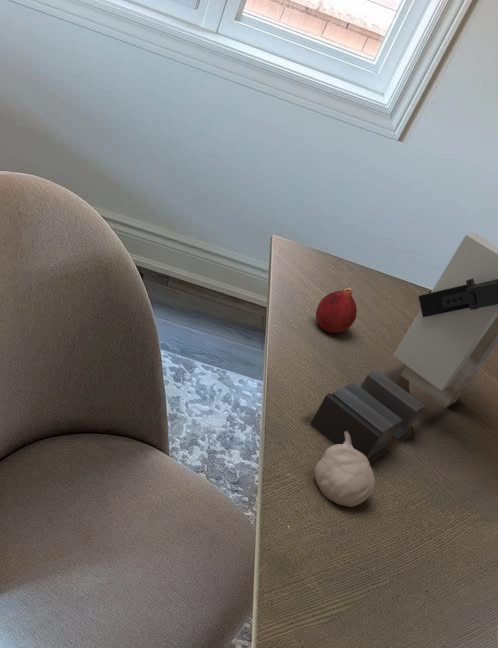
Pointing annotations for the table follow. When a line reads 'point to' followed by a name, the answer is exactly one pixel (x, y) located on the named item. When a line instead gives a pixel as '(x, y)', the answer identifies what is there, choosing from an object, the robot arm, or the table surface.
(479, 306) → the robot arm
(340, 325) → the red pomegranate
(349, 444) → the garlic bulb
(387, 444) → the book rack
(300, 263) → the table surface
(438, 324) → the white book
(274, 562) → the table surface
